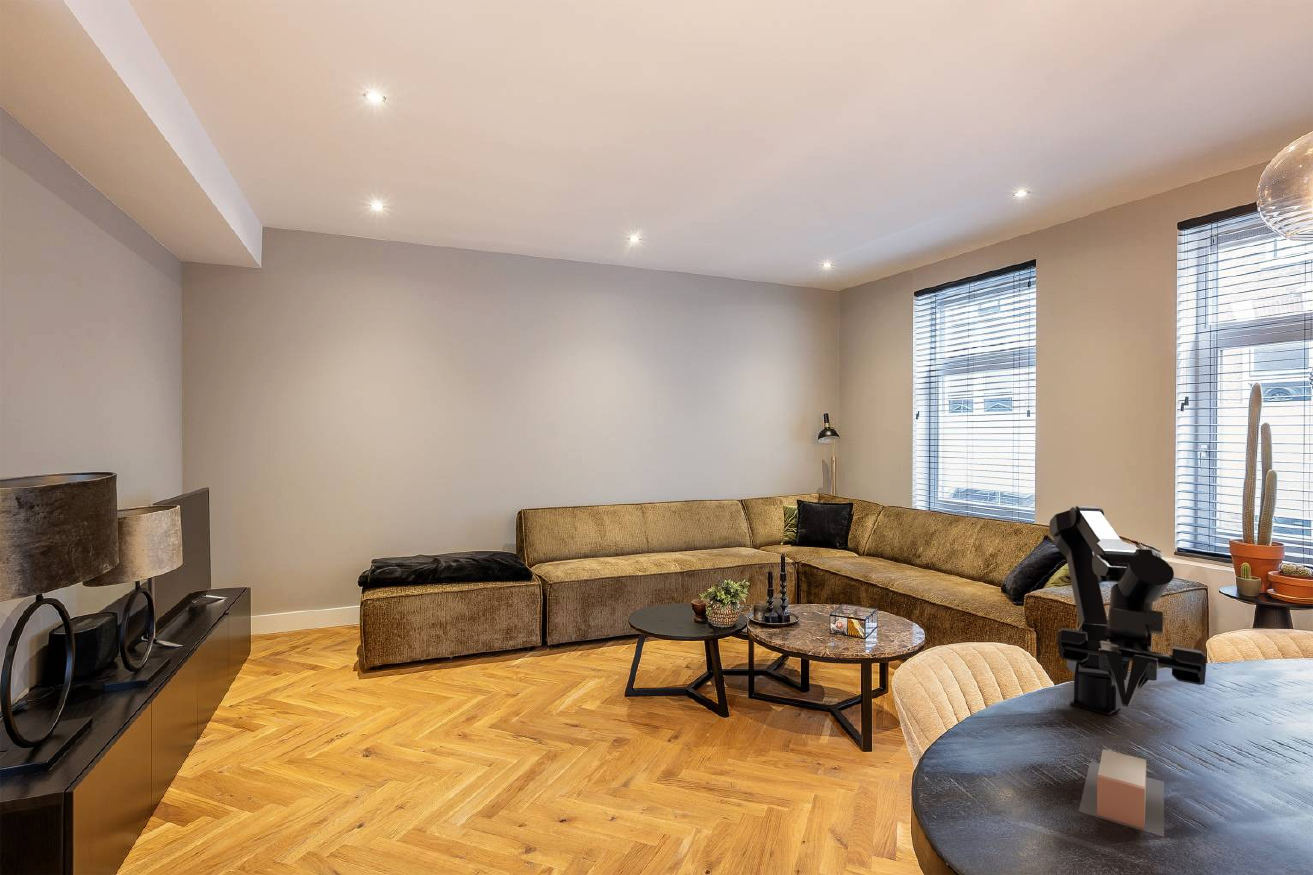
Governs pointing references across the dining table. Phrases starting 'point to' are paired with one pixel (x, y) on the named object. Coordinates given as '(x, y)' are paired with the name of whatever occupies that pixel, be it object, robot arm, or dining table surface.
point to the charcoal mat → (1152, 806)
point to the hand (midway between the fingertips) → (1125, 705)
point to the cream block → (1122, 788)
